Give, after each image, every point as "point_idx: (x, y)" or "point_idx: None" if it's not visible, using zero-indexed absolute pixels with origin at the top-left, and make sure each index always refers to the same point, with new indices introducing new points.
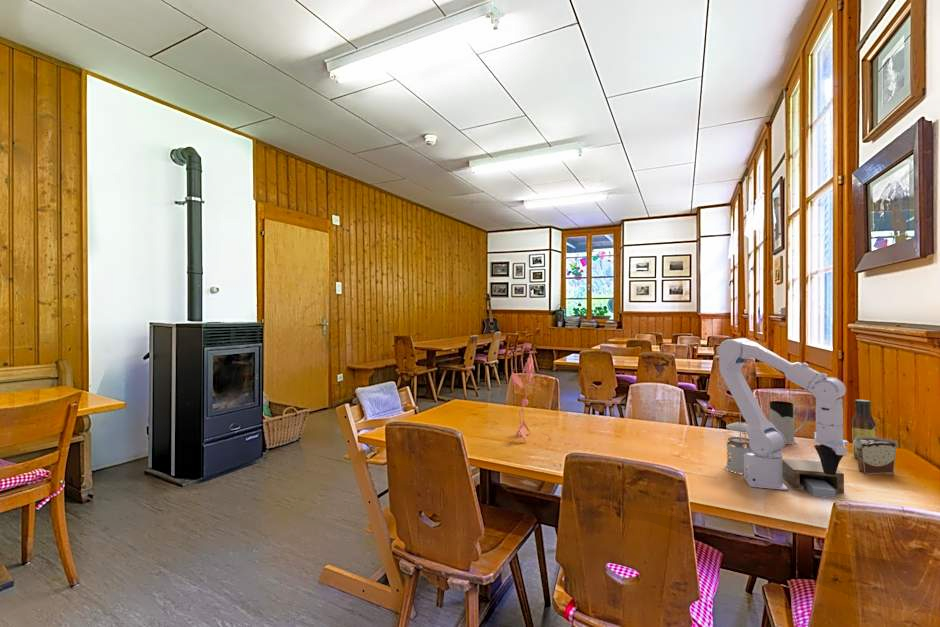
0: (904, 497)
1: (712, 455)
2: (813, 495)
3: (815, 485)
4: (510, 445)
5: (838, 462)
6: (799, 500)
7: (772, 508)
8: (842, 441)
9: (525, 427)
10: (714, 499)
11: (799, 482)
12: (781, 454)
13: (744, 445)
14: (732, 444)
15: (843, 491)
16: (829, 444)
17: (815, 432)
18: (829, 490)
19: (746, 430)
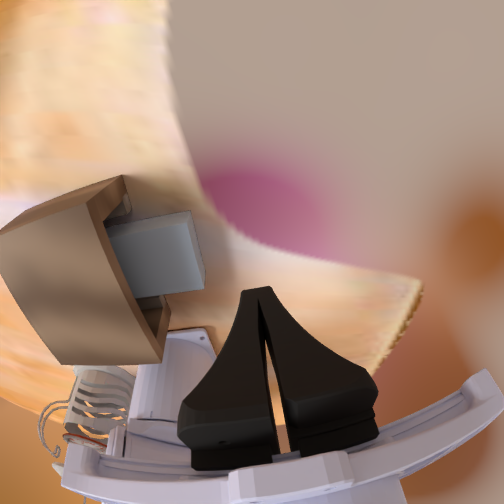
0: (77, 6)
1: (63, 400)
2: (204, 271)
3: (170, 279)
4: None
5: (307, 334)
6: None
7: (349, 348)
8: (378, 488)
9: None
10: None
11: (161, 315)
12: (164, 427)
13: (52, 411)
14: (82, 433)
15: (119, 178)
16: (420, 467)
17: (91, 498)
18: (191, 239)
19: None
